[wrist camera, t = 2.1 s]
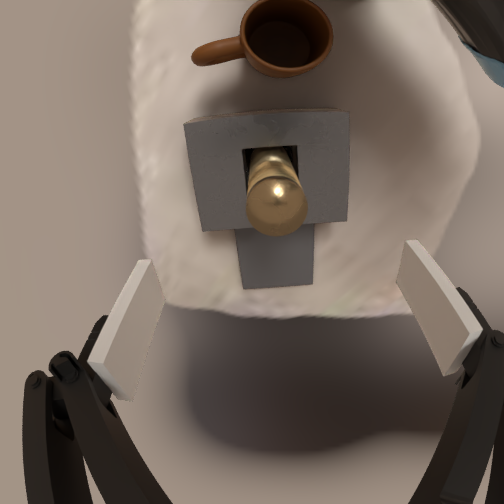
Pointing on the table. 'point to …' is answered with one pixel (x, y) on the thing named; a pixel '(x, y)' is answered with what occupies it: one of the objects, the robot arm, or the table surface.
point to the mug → (275, 39)
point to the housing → (266, 135)
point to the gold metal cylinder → (274, 193)
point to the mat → (276, 257)
